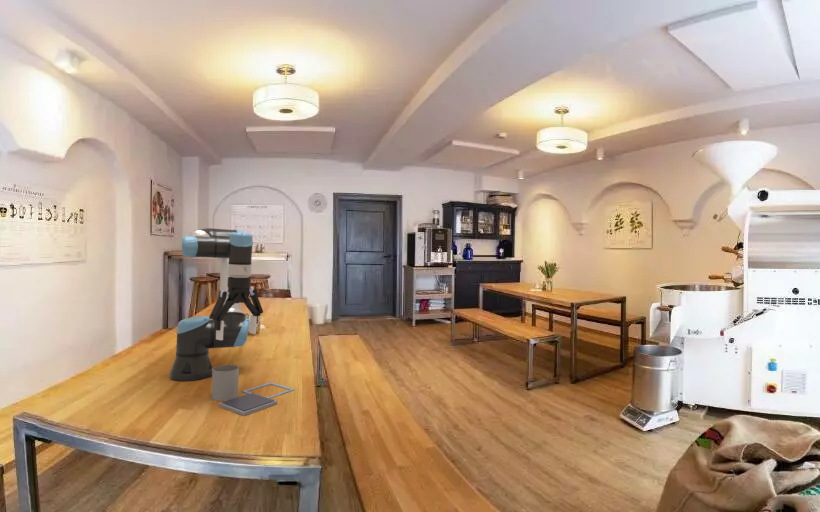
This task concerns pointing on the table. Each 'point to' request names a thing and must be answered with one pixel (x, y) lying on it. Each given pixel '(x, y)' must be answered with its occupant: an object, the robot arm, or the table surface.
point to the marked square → (271, 384)
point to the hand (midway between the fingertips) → (236, 336)
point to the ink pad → (247, 404)
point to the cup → (225, 382)
